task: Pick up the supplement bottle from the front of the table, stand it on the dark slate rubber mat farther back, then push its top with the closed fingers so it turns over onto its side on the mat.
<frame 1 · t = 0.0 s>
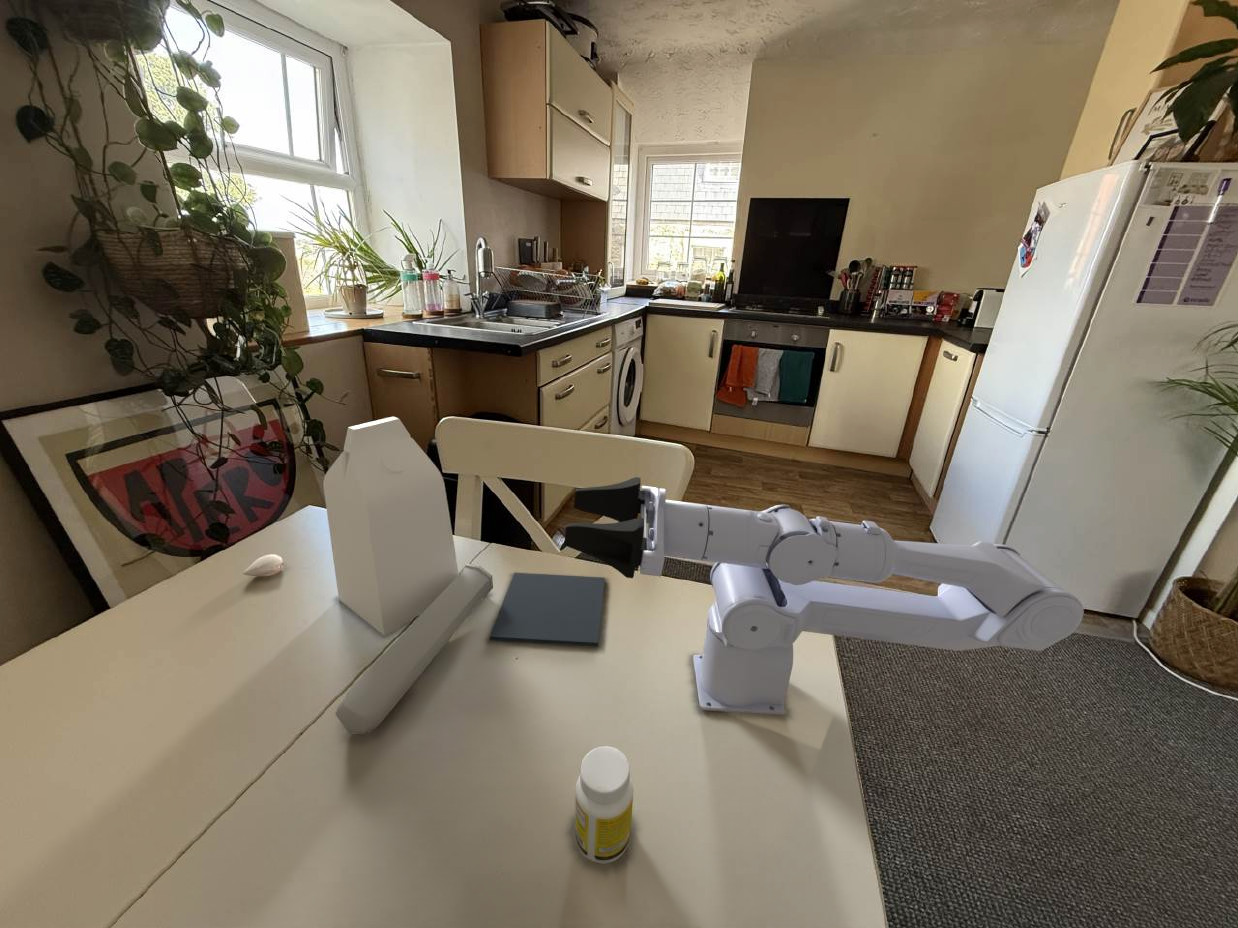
hand: (570, 515, 51), 22 cm above the table, tool horizontal, fingers open, 7 cm apart
mat: (552, 607, 70), on the table
supplement bottle: (602, 835, 43), on the table
white garlic clove: (265, 575, 74), on the table
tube: (426, 655, 61), on the table
milk: (401, 595, 71), on the table
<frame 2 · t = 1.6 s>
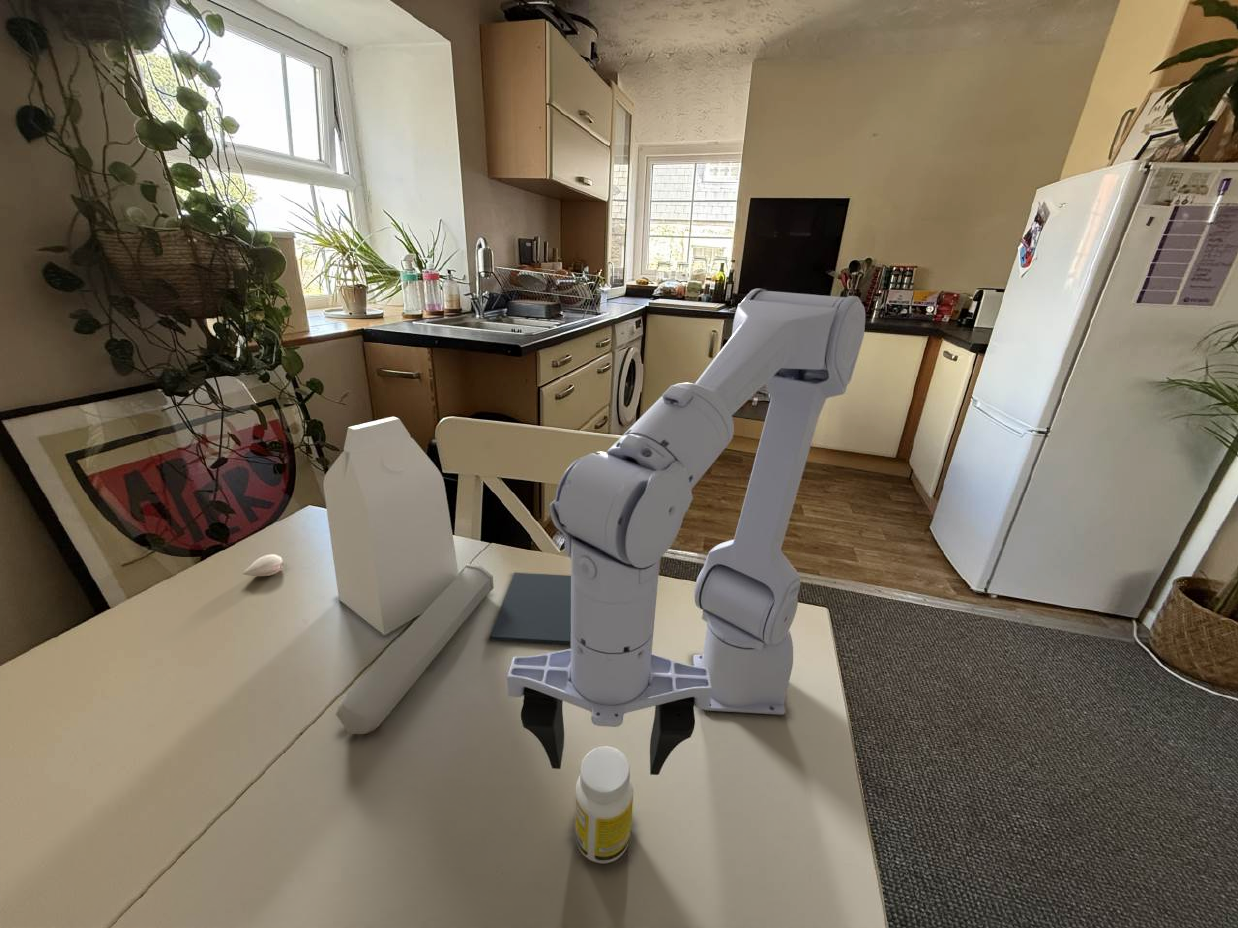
hand: (606, 759, 39), 9 cm above the table, tool pointing down, fingers open, 7 cm apart
nothing on the table moved.
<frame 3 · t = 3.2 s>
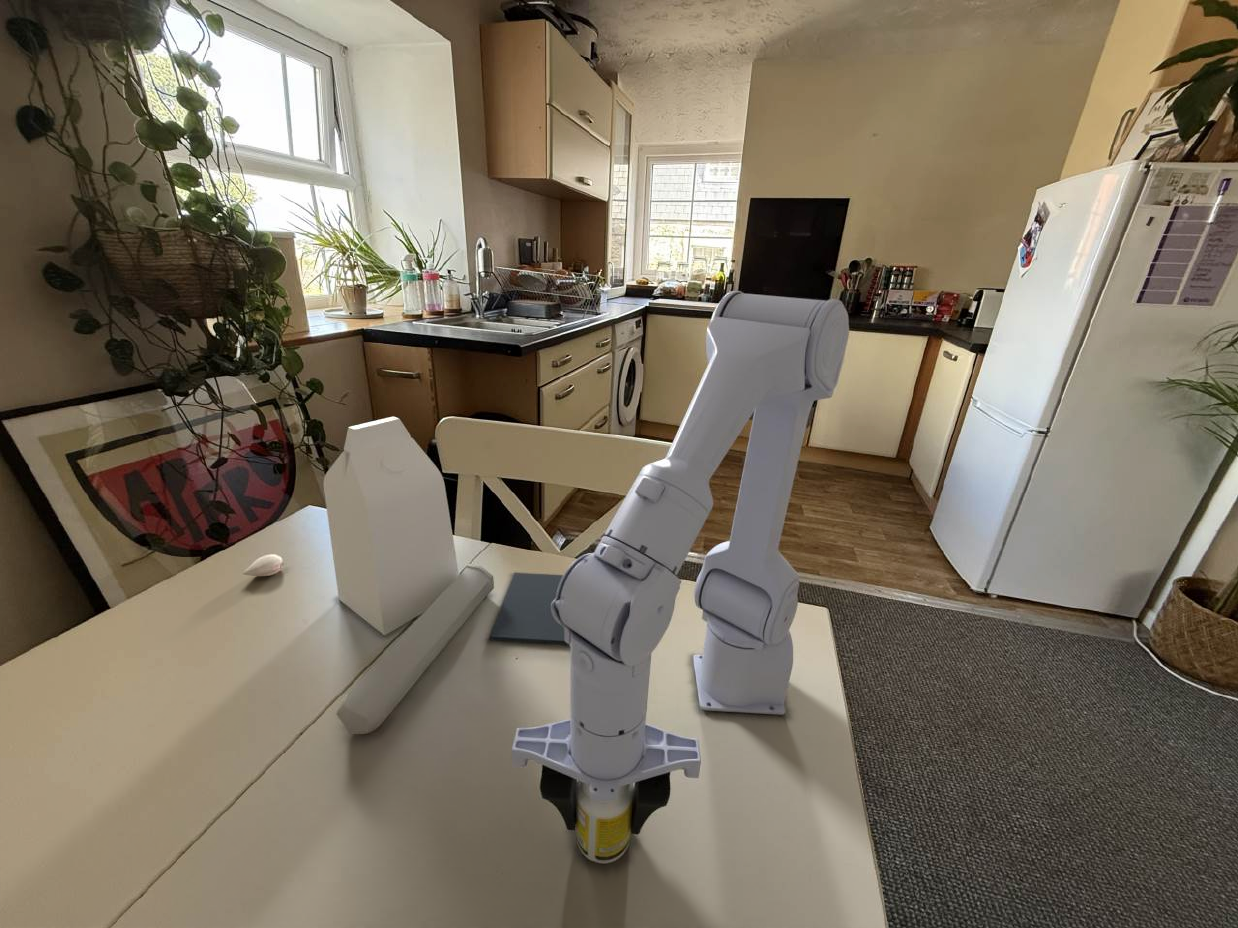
hand: (603, 819, 42), 2 cm above the table, tool pointing down, fingers closed on supplement bottle, 5 cm apart
supplement bottle: (602, 835, 43), on the table, touching gripper
everything else where it was.
when the fingers open (3 cm above the table, at t = 8.7 s): supplement bottle stays where it is, resting on mat.
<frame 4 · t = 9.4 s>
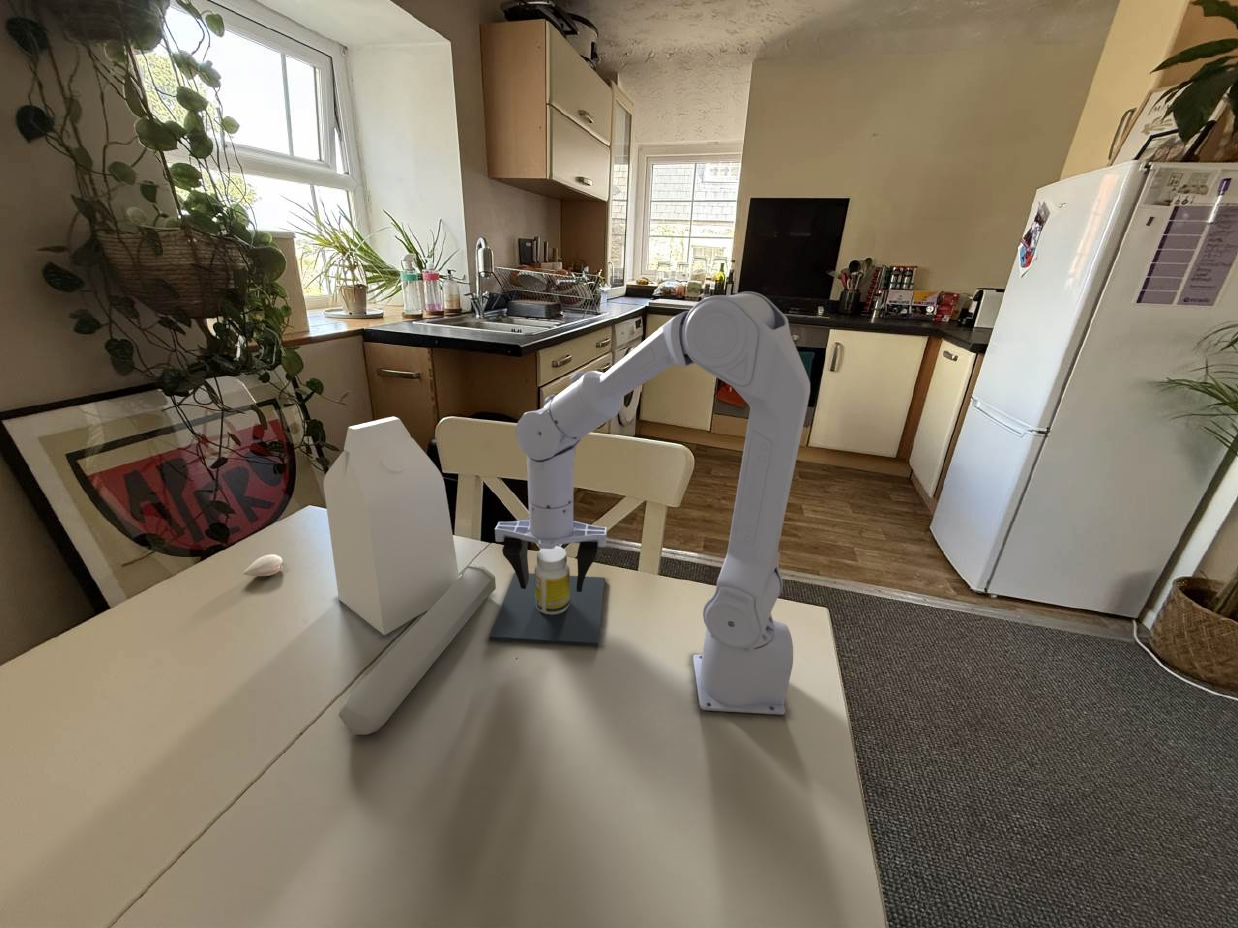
hand: (552, 585, 69), 4 cm above the table, tool pointing down, fingers open, 7 cm apart
supplement bottle: (552, 605, 70), resting on mat
everything else where it was.
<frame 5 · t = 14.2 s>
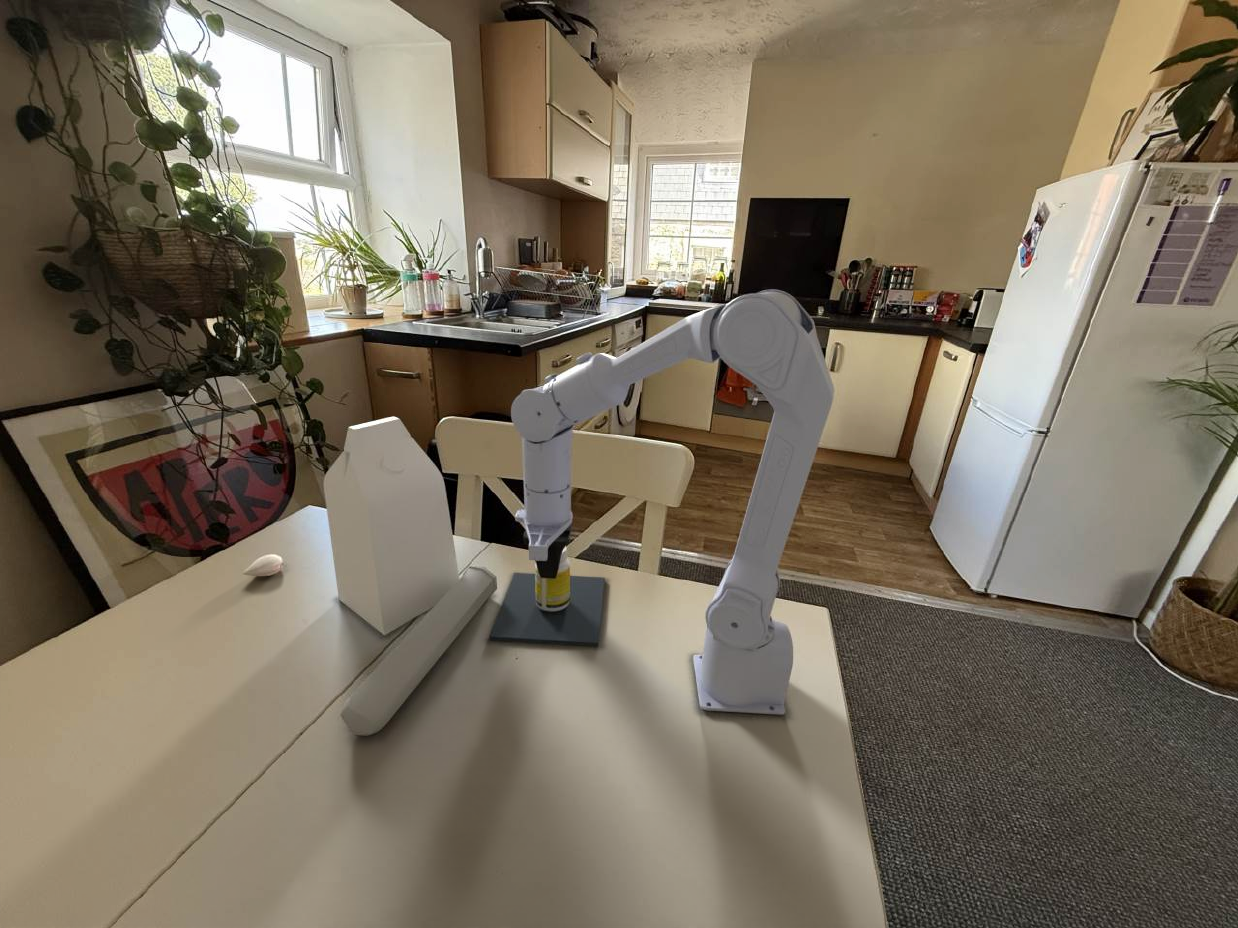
hand: (548, 576, 65), 7 cm above the table, tool pointing down, fingers closed
supplement bottle: (552, 604, 70), point 1 cm above the table, touching gripper, mat
everything else where it was.
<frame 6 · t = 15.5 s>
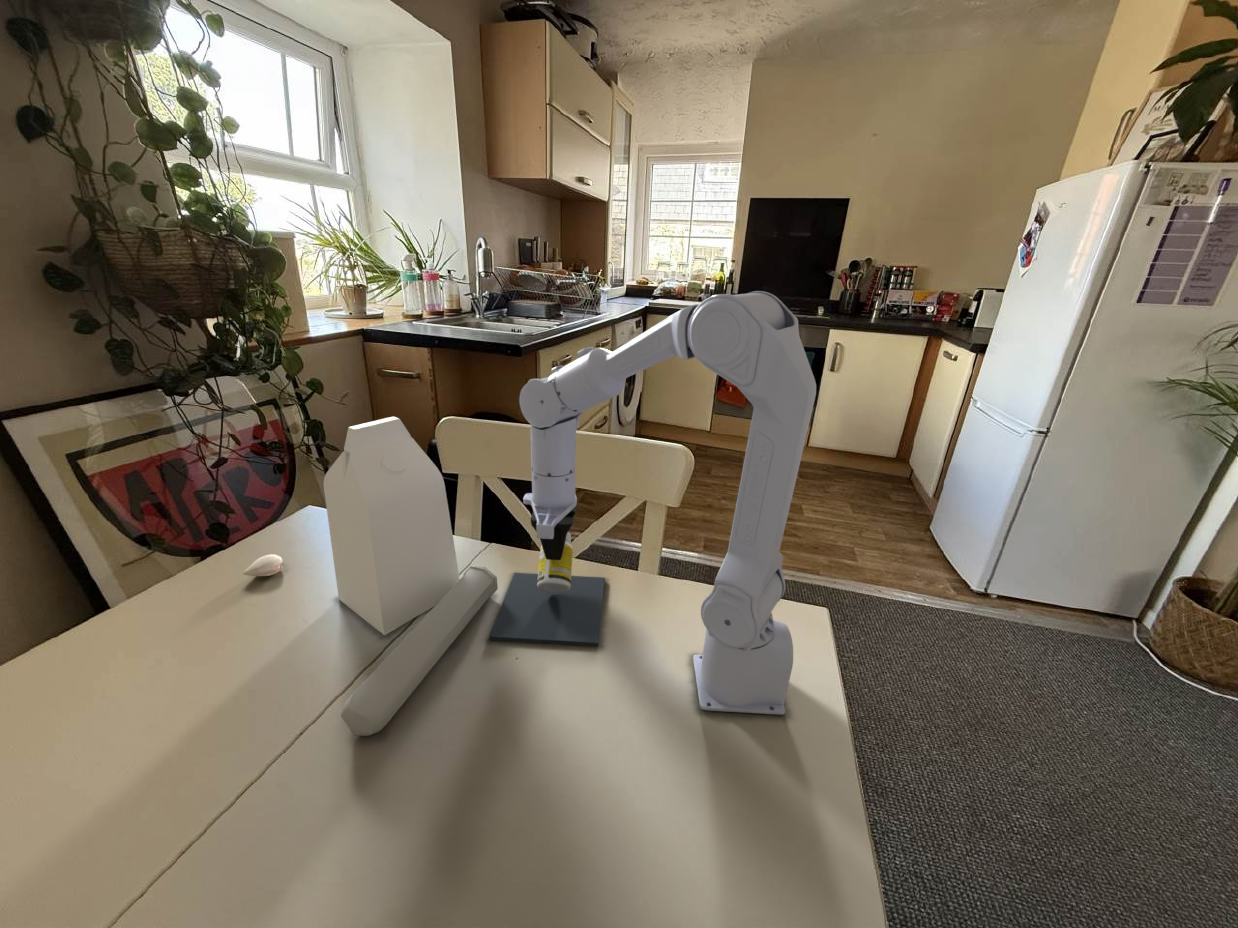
hand: (554, 556, 70), 7 cm above the table, tool pointing down, fingers closed
supplement bottle: (553, 589, 70), point 2 cm above the table, touching gripper, mat
everything else where it was.
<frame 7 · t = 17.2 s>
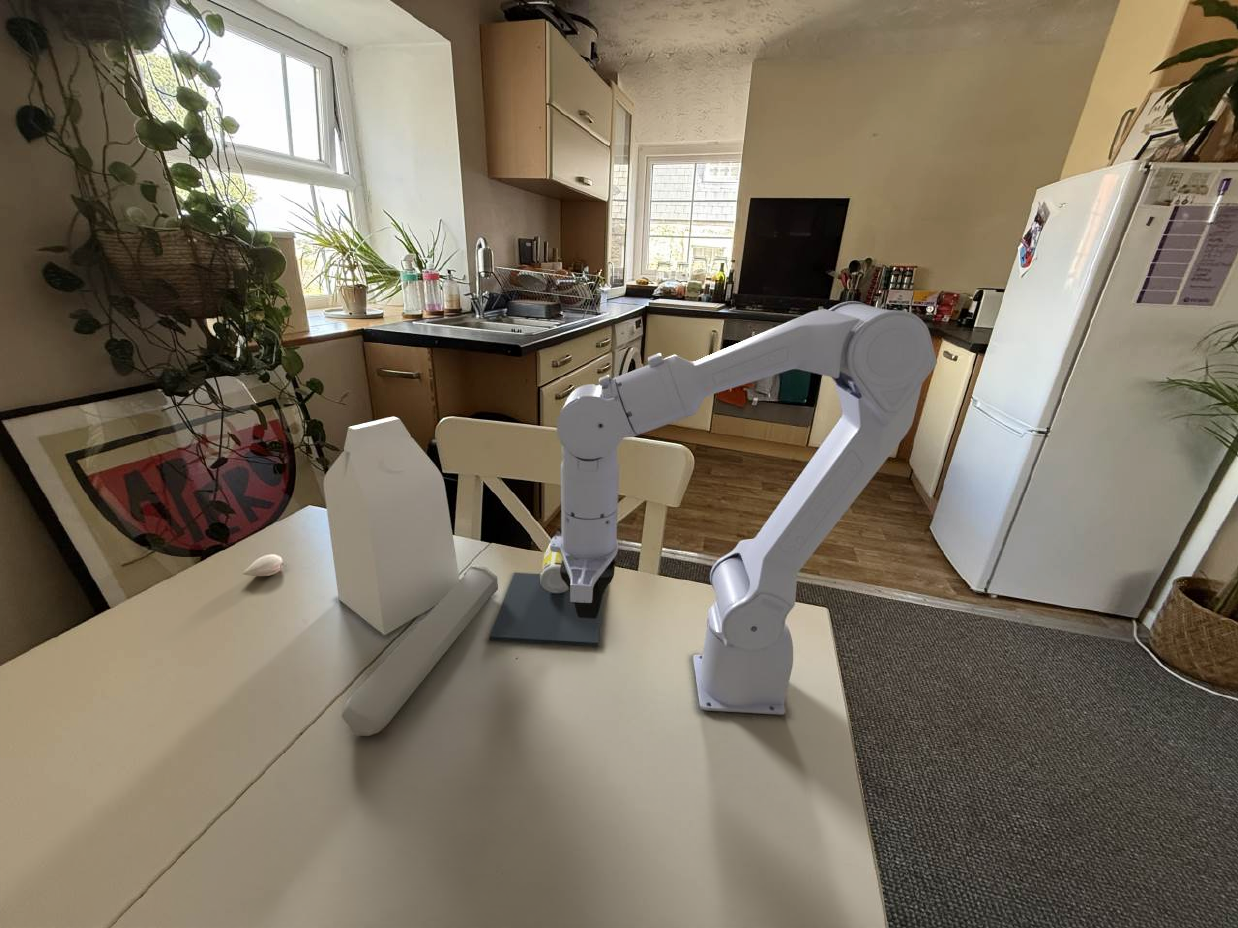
hand: (587, 613, 55), 9 cm above the table, tool pointing down, fingers closed
supplement bottle: (556, 581, 71), point 3 cm above the table, touching mat
everything else where it was.
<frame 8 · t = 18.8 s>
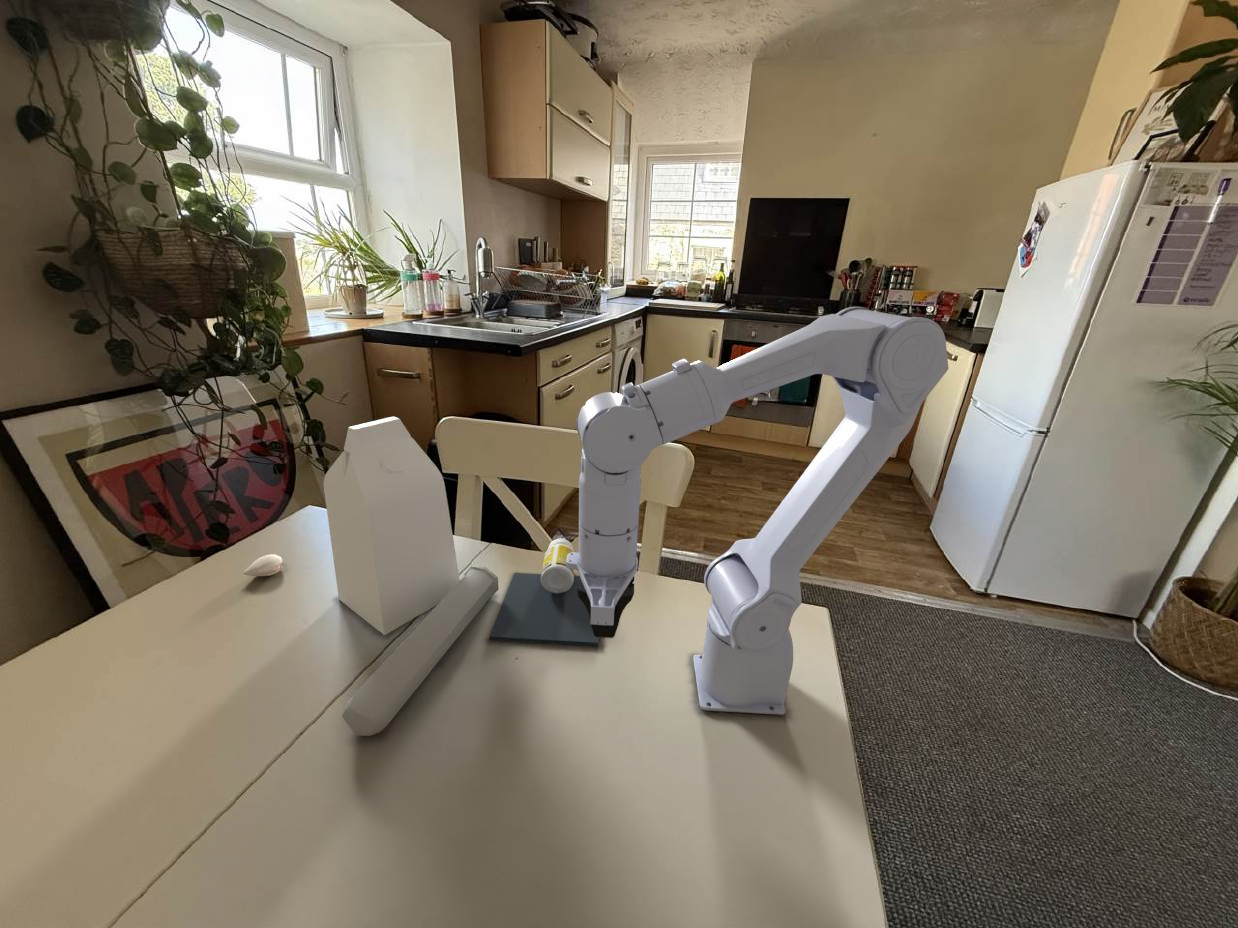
hand: (604, 632, 52), 9 cm above the table, tool pointing down, fingers closed
nothing on the table moved.
at the end: supplement bottle tilted 90°; supplement bottle inside the target area on the mat (0.3 cm from its centre), point 2.9 cm above the mat's base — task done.
